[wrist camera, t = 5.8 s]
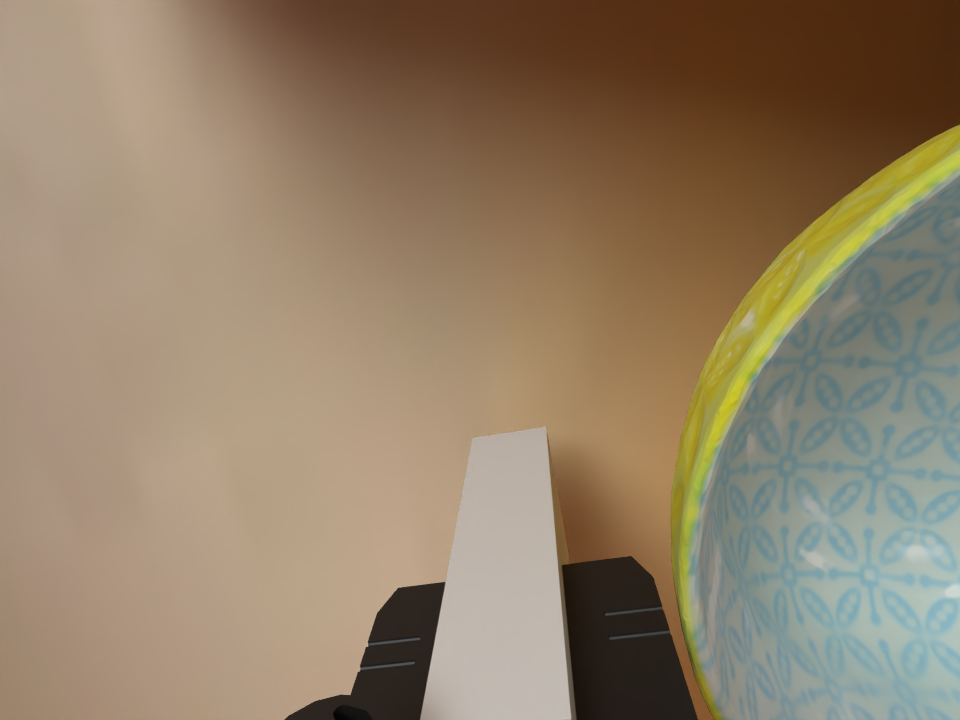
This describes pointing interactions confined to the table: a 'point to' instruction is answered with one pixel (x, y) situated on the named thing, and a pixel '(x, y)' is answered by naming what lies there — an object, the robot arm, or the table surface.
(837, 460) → the bowl
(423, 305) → the table surface
